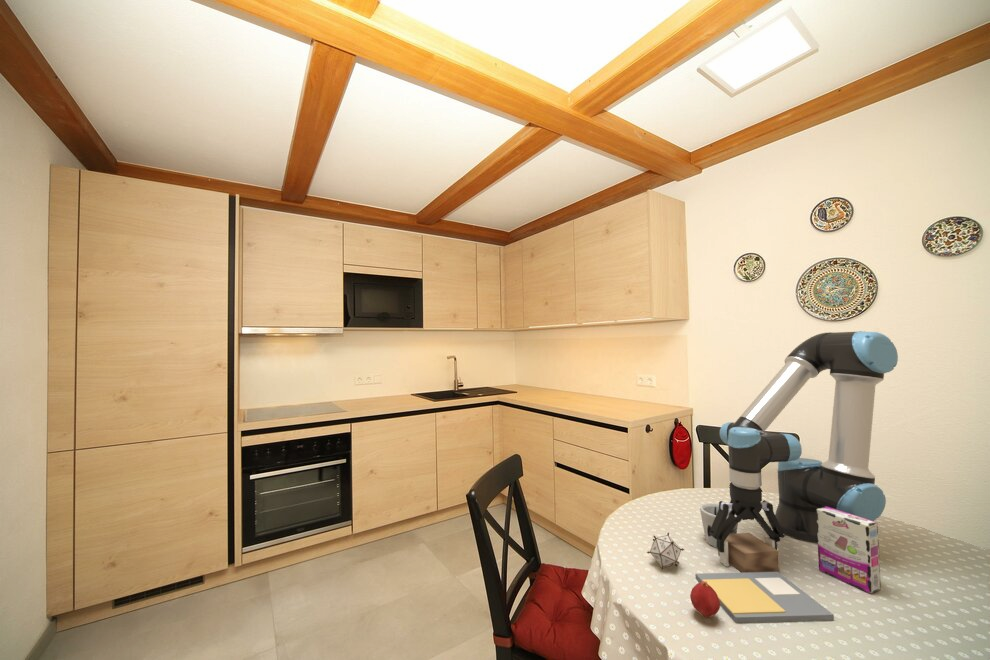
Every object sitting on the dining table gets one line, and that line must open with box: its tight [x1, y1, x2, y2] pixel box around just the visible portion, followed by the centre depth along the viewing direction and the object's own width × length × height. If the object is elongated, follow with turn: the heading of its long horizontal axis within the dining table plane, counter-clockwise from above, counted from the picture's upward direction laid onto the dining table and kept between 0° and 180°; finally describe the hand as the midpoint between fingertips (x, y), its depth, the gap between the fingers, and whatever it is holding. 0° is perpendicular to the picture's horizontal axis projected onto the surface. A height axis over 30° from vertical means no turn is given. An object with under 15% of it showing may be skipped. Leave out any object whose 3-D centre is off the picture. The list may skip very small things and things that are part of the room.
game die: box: [646, 531, 685, 571], centre depth 106 cm, size 9×8×10 cm
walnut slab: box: [717, 532, 780, 573], centre depth 107 cm, size 10×10×6 cm
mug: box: [699, 503, 739, 549], centre depth 120 cm, size 10×15×10 cm
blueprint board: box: [694, 571, 835, 624], centre depth 92 cm, size 22×16×2 cm
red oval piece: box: [689, 581, 721, 619], centre depth 86 cm, size 6×6×8 cm
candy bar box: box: [816, 506, 882, 595], centre depth 99 cm, size 11×5×16 cm, turn 23°
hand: (747, 563), depth 106 cm, fingers open, 12 cm apart
